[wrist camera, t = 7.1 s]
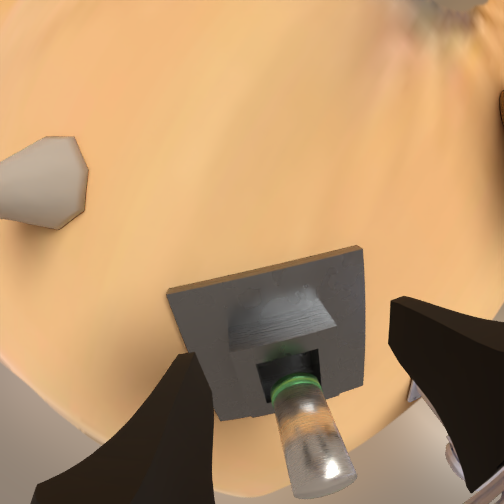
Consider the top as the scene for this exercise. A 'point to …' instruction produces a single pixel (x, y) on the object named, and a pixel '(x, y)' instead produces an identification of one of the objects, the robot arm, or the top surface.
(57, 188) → the flask
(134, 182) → the top surface
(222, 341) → the charcoal stand
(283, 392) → the steel column
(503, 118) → the plant pot
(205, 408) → the robot arm
